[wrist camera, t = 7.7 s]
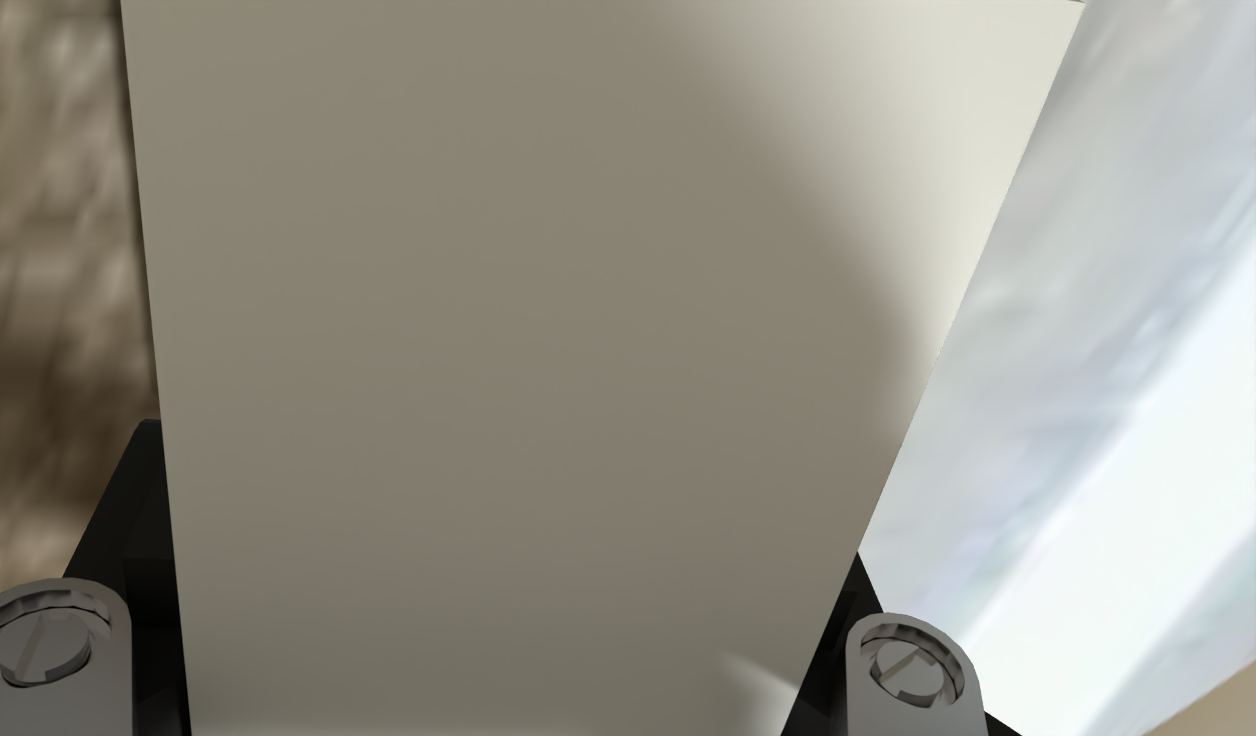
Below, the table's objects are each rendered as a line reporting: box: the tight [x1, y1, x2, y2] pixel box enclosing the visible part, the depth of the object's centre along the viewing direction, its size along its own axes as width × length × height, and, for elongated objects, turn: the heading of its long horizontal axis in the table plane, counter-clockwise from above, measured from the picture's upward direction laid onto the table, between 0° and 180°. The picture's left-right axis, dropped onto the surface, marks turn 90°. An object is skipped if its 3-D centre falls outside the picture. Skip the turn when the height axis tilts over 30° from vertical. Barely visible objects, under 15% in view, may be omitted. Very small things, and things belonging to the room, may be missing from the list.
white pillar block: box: [121, 0, 1086, 736], centre depth 11 cm, size 14×5×5 cm, turn 169°
